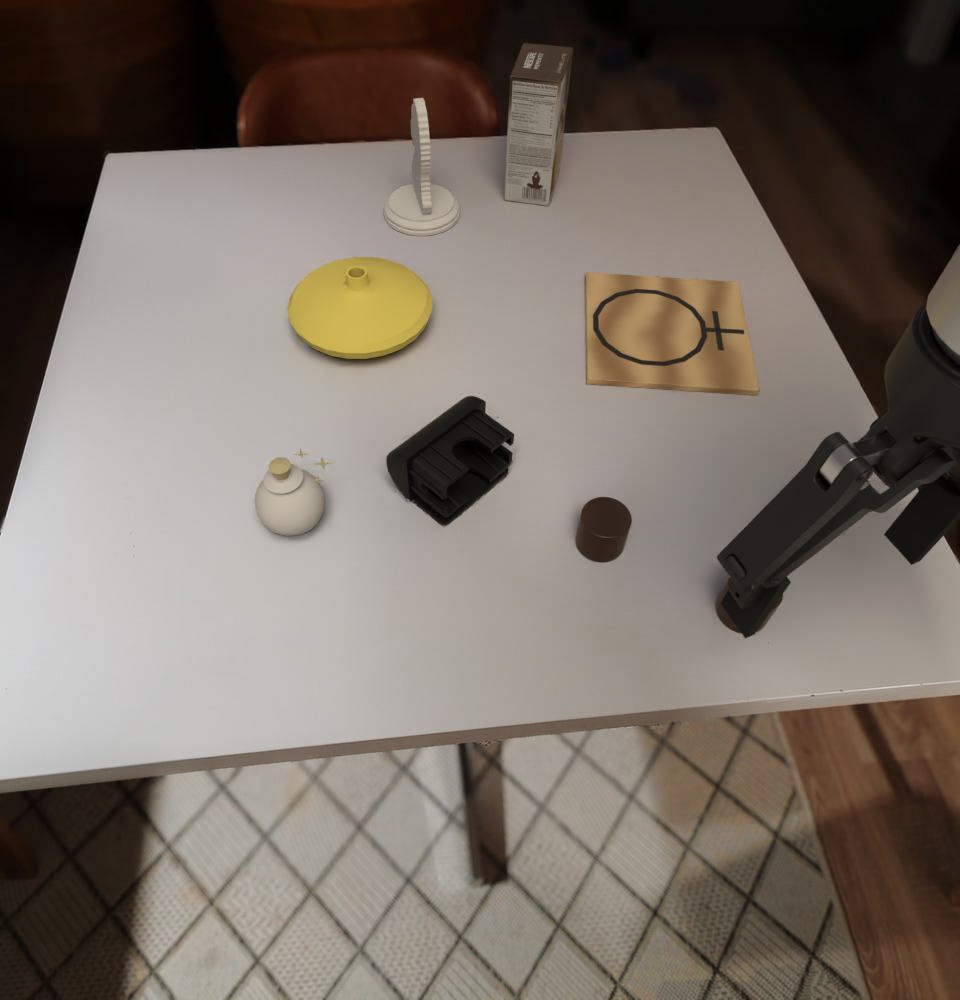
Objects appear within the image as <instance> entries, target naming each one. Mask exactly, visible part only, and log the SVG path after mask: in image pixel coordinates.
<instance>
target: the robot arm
mask: <svg viewBox="0 0 960 1000" xmlns="http://www.w3.org/2000/svg"><path fill="white" fill-rule="evenodd" d="M944 267H945V268H944V269H943V271H942V272H941V274H940V276H939V277H938V279H937V280H936V281H935V284H934V286H933V287H932V289H931V290H930V291H929V293H928V295H927V300H926V302H925V303H924V304H922V305H921V306H920V307H919V308H918V309H917V310H916V312H915V314H914V315H913V317H912V318H911V320H910V322H909V324H908V325H907V327H906V329H905V330H904V332H903V334H901V336H900V339H899V340H898V342H897V343H896V345H895V346H894V348H893V350H892V352H891V353H890V354H889V357H888V358H887V361H886V363H885V367H884V374H883V375H884V385H885V390H886V397H887V410H886V411H884V412H883V413H882V414H880V416H878V417H877V418H876V419H875V420H874V421H872V422H871V424H870V425H869V429H868V430H867V431H866V433H865V434H864V435H863V436H862V437H861V438H859V439H858V440H857V441H854V442H850V441H849V440H848V439H847V438H846V437H845V436H844V435H843V434H842V433H841V432H840V431H835V432H833V433H831V434H829V435H827V436H826V437H825V438H824V439H823V440H822V441H821V442H820V443H819V445H818V446H817V448H816V449H815V450H814V452H813V453H812V455H811V456H810V457H809V459H808V460H807V462H806V463H805V465H804V466H803V467H802V468H801V469H800V470H799V471H798V473H796V474H795V475H794V476H793V477H792V478H791V480H789V482H788V483H786V484H785V486H784V487H783V488H782V489H781V490H780V491H779V492H778V493H777V494H776V495H775V496H773V498H772V499H771V500H770V501H769V502H768V503H766V505H765V506H764V507H763V508H762V509H761V510H760V511H759V512H758V513H757V514H756V515H755V516H754V517H753V518H752V519H751V520H750V521H749V522H748V523H747V524H746V525H745V526H744V527H743V529H741V530H740V531H739V533H738V534H736V536H735V537H734V538H732V540H731V541H729V543H727V545H726V546H724V548H723V549H722V550H721V551H720V552H719V553H717V555H716V560H717V561H718V563H719V564H720V565H721V566H722V568H723V570H724V571H725V572H726V574H727V575H728V576H729V577H730V578H731V579H732V580H733V581H732V584H731V585H730V587H729V589H728V591H727V593H726V595H725V596H724V598H723V600H722V602H721V603H720V604H721V605H722V607H723V608H724V609H725V611H726V612H727V614H728V615H729V616H730V618H731V619H732V621H733V622H734V624H735V625H736V626H737V628H738V629H739V631H740V632H741V633H740V634H741V635H742V636H743V638H744V639H748V638H749V637H752V636H754V635H756V633H758V632H759V631H758V629H759V628H760V626H761V625H762V623H763V622H764V620H765V619H766V618H767V616H768V615H769V613H770V612H771V610H772V609H773V607H774V606H775V605H776V603H777V602H778V600H779V599H780V597H781V596H782V594H783V595H784V593H785V592H786V590H787V589H788V587H789V586H790V585H791V583H792V581H791V580H790V579H789V577H788V576H790V575H791V574H792V573H794V572H795V571H796V570H797V569H798V568H800V567H801V566H802V565H804V564H805V563H807V562H808V561H809V560H810V559H811V558H812V557H814V556H815V555H817V554H818V553H819V552H820V551H822V550H823V549H824V548H826V547H827V546H829V544H831V543H832V542H833V541H834V540H836V539H837V538H838V537H840V536H841V535H842V534H844V533H845V532H846V531H848V530H849V529H850V528H851V527H853V526H854V525H855V524H856V523H857V522H859V521H860V520H861V519H863V518H864V517H866V516H867V515H868V514H869V513H872V512H874V513H879V514H882V513H886V512H887V511H889V510H890V509H892V508H893V507H895V506H896V505H897V504H898V503H900V502H901V501H902V500H903V499H904V498H906V497H907V496H909V495H910V494H911V493H912V492H914V491H915V490H916V489H918V488H919V487H920V486H921V488H919V489H918V491H917V492H916V494H915V495H914V496H913V497H912V498H911V500H910V501H909V502H908V503H907V505H906V506H905V507H904V508H903V510H902V511H901V512H900V513H899V515H898V516H897V517H896V519H895V520H894V521H893V522H892V524H891V525H890V526H889V527H888V529H886V531H885V532H884V533H883V535H884V537H886V539H887V540H888V541H889V542H890V543H891V545H892V546H893V547H894V548H895V549H896V550H897V551H898V552H899V553H900V554H901V555H902V557H903V558H904V559H905V560H906V561H907V562H908V563H909V564H910V565H911V566H913V565H915V564H917V563H919V562H921V561H922V560H923V559H924V557H926V556H927V554H928V553H929V552H931V550H932V549H934V547H935V546H936V545H937V543H938V542H939V541H940V540H941V539H943V537H944V536H945V535H946V534H947V533H948V532H949V531H950V529H951V528H953V526H954V525H955V524H956V523H957V522H958V521H959V520H960V244H959V245H958V246H957V248H956V250H955V251H954V252H953V254H952V256H951V258H950V260H949V261H948V263H947V264H946V266H944ZM873 474H874V475H875V476H876V477H877V478H878V479H879V480H880V481H881V482H882V483H883V484H884V485H885V486H886V487H888V488H887V489H886V490H884V491H883V492H882V493H879V491H878V490H877V489H875V488H874V486H873V485H872V484H871V483H870V481H869V479H870V478H871V476H873ZM945 474H947V475H948V476H949V477H948V478H947V479H946V477H944V475H945ZM757 631H758V632H757Z"/></svg>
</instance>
